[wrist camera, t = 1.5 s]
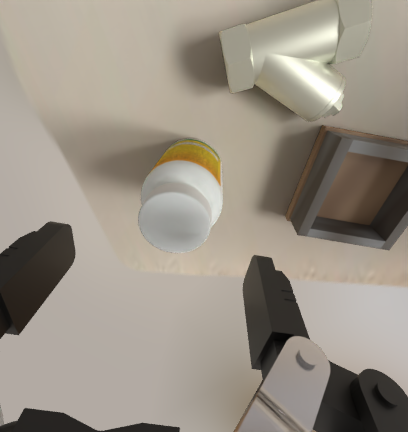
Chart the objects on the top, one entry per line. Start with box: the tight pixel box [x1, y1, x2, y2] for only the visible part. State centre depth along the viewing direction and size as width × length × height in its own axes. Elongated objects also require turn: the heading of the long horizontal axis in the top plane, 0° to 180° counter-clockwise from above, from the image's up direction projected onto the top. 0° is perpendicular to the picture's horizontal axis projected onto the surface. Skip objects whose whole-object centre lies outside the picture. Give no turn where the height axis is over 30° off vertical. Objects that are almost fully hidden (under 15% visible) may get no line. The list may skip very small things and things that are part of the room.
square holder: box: [285, 125, 408, 250], centre depth 19 cm, size 9×9×3 cm
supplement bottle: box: [138, 138, 223, 253], centre depth 17 cm, size 5×5×10 cm
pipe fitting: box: [219, 0, 372, 122], centre depth 16 cm, size 8×4×7 cm
